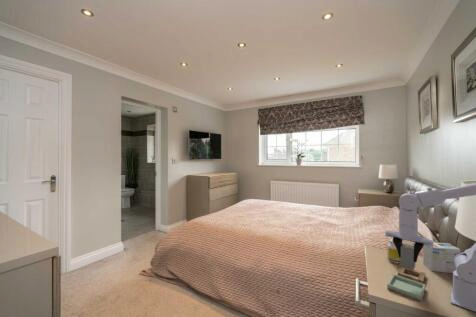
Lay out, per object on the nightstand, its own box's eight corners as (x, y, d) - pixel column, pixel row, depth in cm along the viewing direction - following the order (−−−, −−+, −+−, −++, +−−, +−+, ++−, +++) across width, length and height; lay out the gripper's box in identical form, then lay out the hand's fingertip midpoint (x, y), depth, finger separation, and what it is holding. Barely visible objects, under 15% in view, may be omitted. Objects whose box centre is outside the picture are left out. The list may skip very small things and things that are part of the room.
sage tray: (425, 289, 81) (425, 284, 81) (421, 301, 75) (421, 296, 75) (393, 278, 89) (393, 274, 89) (387, 288, 82) (387, 284, 82)
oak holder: (425, 276, 90) (425, 273, 90) (422, 284, 84) (422, 280, 84) (401, 269, 96) (401, 265, 96) (397, 276, 90) (397, 272, 90)
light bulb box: (449, 266, 98) (449, 242, 98) (461, 274, 91) (461, 249, 91) (422, 263, 100) (422, 240, 100) (431, 271, 94) (431, 247, 94)
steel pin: (415, 266, 84) (415, 246, 84) (413, 270, 81) (413, 249, 81) (402, 262, 87) (402, 243, 87) (400, 266, 84) (400, 246, 84)
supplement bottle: (403, 264, 100) (403, 243, 100) (390, 263, 101) (390, 242, 101) (397, 258, 105) (397, 238, 105) (385, 257, 106) (385, 238, 106)
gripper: (434, 226, 81) (434, 262, 81) (388, 218, 91) (388, 249, 92) (432, 231, 76) (431, 269, 76) (384, 222, 87) (383, 255, 87)
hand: (407, 259), depth 84 cm, fingers closed on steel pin, 4 cm apart
